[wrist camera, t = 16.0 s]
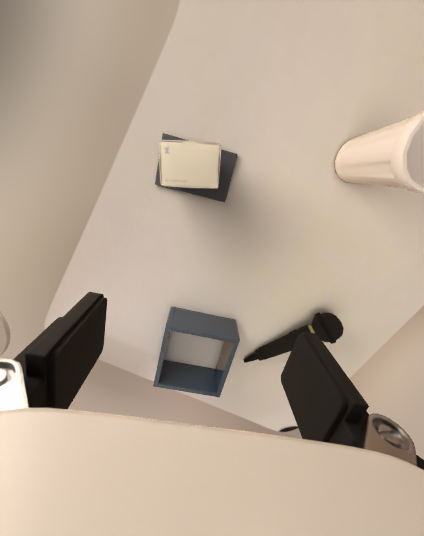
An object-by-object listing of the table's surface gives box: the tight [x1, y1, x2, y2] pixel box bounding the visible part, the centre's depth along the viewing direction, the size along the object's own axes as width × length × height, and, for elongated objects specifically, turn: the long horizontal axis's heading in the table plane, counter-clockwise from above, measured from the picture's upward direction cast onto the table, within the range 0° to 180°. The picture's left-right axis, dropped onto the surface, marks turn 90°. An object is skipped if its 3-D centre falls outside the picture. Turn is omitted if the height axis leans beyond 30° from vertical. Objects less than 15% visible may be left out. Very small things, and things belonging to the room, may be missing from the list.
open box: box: [153, 307, 240, 397], centre depth 44 cm, size 13×14×6 cm
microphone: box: [244, 313, 343, 362], centre depth 45 cm, size 6×6×20 cm
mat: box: [155, 133, 237, 202], centre depth 35 cm, size 11×7×1 cm, turn 76°
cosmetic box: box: [159, 140, 221, 188], centre depth 29 cm, size 6×4×12 cm
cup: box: [335, 111, 424, 193], centre depth 28 cm, size 8×8×14 cm
